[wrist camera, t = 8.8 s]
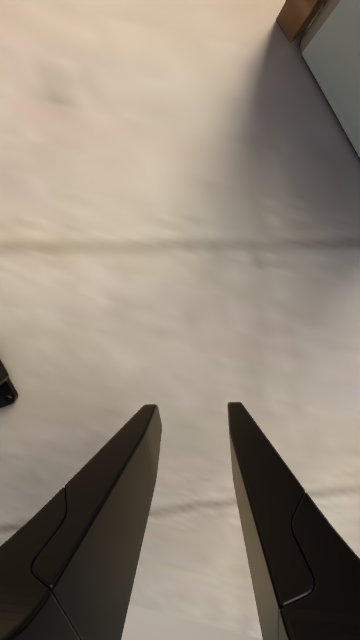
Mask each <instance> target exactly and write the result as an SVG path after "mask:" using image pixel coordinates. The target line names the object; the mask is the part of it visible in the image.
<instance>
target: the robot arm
mask: <svg viewBox="0 0 360 640" xmlns="http://www.w3.org/2000/svg"><path fill="white" fill-rule="evenodd" d="M8 376H9V375H8V373H7V371H6V369H5V367H4V366H3V364H2V362H1V360H0V408H2V407H4V406H7V405H10V404H12V403H14V401H15V400H16V399H17V398H18V394H17V392H16V390H15V388H14V386H13V385H12V383H11V381H10V379H9V377H8ZM7 395H10V396H11V397H12V398H11V399H10V398H8V397H7ZM228 420H229V435H230V448H231V461H232V473H233V481H234V488H235V493H236V498H237V504H238V509H239V514H240V520H241V525H242V530H243V536H244V541H245V546H246V552H247V557H248V562H249V568H250V573H251V578H252V584H253V589H254V594H255V600H256V605H257V610H258V616H259V621H260V626H261V632H262V637H263V640H360V558H359V557H358V556H357V555H356V554H355V553H354V552H353V550H352V549H351V548H350V547H349V546H348V545H347V543H346V542H345V541H344V540H343V539H342V537H341V536H340V535H339V534H338V533H337V532H336V530H335V529H334V528H333V527H332V525H331V524H330V523H329V522H328V520H327V519H326V518H325V516H324V515H323V514H322V512H321V511H320V510H319V509H318V507H317V506H316V505H315V503H314V502H313V500H312V499H311V498H310V496H309V495H308V494H307V493H305V490H304V488H303V487H302V485H301V484H300V483H299V481H298V480H297V479H296V477H295V476H294V474H293V473H292V472H291V470H290V469H289V468H288V466H287V465H286V463H285V462H284V461H283V459H282V458H281V457H280V455H279V454H278V452H277V451H276V450H275V448H274V447H273V446H272V444H271V443H270V441H269V440H268V439H267V437H266V436H265V435H264V433H263V432H262V430H261V429H260V428H259V426H258V425H257V424H256V422H255V421H254V419H253V418H252V417H251V415H250V414H249V413H248V411H247V410H246V408H245V407H244V406H243V404H242V403H241V402H229V403H228ZM161 432H162V424H161V419H160V414H159V409H158V406H157V405H156V404H148V405H144V406H143V407H142V408H141V409H140V410H139V411H138V412H137V413H136V414H135V415H134V416H133V417H132V418H131V419H130V420H129V421H128V422H127V423H126V424H125V425H124V426H123V427H122V428H121V429H120V430H119V431H118V432H117V433H116V434H115V435H114V436H113V437H112V438H111V439H110V440H109V441H108V442H107V443H106V444H105V445H104V446H103V447H102V448H101V449H100V450H99V451H98V453H97V454H96V455H95V456H94V457H93V458H92V459H91V460H90V461H89V462H88V463H87V464H86V465H85V466H84V467H83V468H82V469H81V470H80V471H79V472H78V473H77V474H76V475H75V476H74V477H73V478H72V479H71V480H70V481H69V482H68V483H67V484H66V485H65V488H62V489H61V490H60V491H59V492H58V493H57V494H56V495H55V496H54V497H53V498H52V499H51V500H50V501H49V502H48V503H47V504H46V505H45V506H44V507H43V508H42V509H41V510H40V511H39V512H38V513H37V514H36V515H35V516H34V517H33V518H31V519H30V520H29V521H28V522H27V523H26V524H25V525H24V526H23V527H22V528H21V529H19V530H18V531H17V532H16V533H15V534H14V535H13V536H12V537H11V538H9V539H8V540H7V541H6V542H5V543H4V544H3V545H1V546H0V640H121V637H122V632H123V628H124V623H125V619H126V614H127V610H128V605H129V601H130V596H131V592H132V587H133V583H134V578H135V574H136V569H137V565H138V560H139V556H140V551H141V546H142V542H143V537H144V533H145V528H146V524H147V519H148V515H149V510H150V506H151V501H152V497H153V492H154V488H155V483H156V477H157V469H158V460H159V451H160V442H161Z"/></svg>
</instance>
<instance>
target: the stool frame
mask: <svg viewBox="0 0 360 640" xmlns="http://www.w3.org/2000/svg"><path fill="white" fill-rule="evenodd" d="M324 1H325V3H326V2H327V1H328V0H286V2H285V4H284V6H283V8H282V9H281V11H280V13H279V15H278V17H277V19H276V20H277V22H278V23H279V25H280V27H281V28H282V30H283V32H284V33H285V35H286V36H287V38H288V40H289V41H290V42H291V41H292V40H293V39H294V38H295V37H296V36H298V35H299V34H300V33H301V32H302V31H303V30H304V29H305V28H306V27H307V26H308V25H309V24H310V22H311V21H312V19H313V18H314V16H315V15H316V13H317V12H318V10H319V9H320V7H321V6H322V4H323V3H324Z"/></svg>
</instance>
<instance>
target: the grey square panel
mask: <svg viewBox="0 0 360 640" xmlns="http://www.w3.org/2000/svg"><path fill="white" fill-rule="evenodd" d="M300 48H301V52H302V55H303V57H304V59H305V61H306V62H307V64H308V66H309V68H310V70H311V71H312V73H313V75H314V77H315V79H316V80H317V82H318V84H319V86H320V88H321V89H322V91H323V93H324V95H325V97H326V98H327V100H328V102H329V104H330V106H331V107H332V109H333V111H334V113H335V114H336V116H337V118H338V120H339V122H340V123H341V125H342V127H343V129H344V131H345V132H346V134H347V136H348V138H349V140H350V141H351V143H352V145H353V147H354V149H355V150H356V152H357V154H358V156H359V158H360V0H328V1H327V2H326V4H325V5H324V7H323V8H322V10H321V11H320V13H319V14H318V15H317V17H316V18H315V20H314V21H313V23H312V24H311V26H310V27H309V29H308V30H307V31H306V33H305V34H304V36H303V37H302V39H301V43H300Z"/></svg>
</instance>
